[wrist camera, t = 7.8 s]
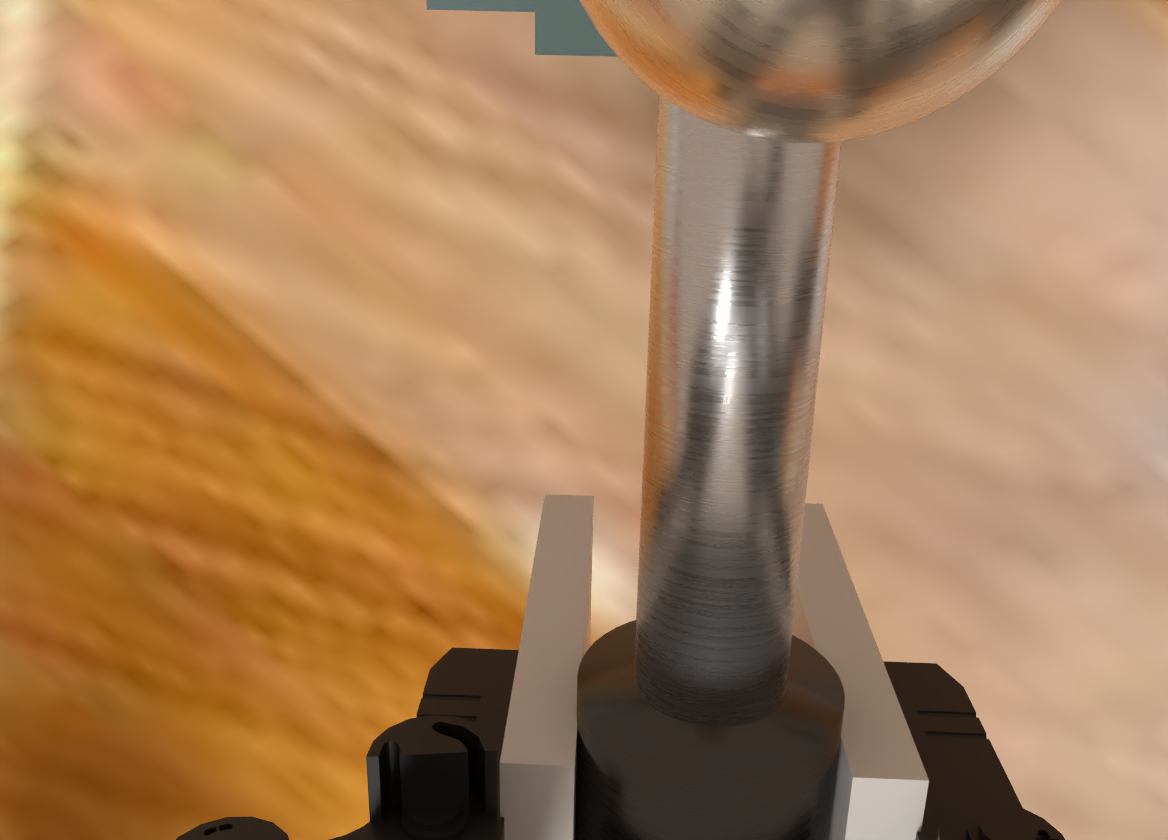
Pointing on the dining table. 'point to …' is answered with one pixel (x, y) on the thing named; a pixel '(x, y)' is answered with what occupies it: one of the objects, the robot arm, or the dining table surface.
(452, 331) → the dining table surface
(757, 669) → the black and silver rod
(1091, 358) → the dining table surface
